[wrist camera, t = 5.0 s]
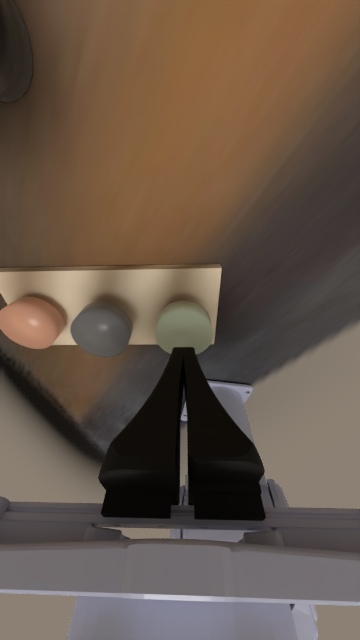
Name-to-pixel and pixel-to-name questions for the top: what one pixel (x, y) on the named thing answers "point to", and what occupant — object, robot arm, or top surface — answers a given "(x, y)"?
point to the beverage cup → (14, 53)
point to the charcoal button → (102, 329)
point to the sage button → (184, 327)
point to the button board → (116, 291)
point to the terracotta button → (31, 322)
